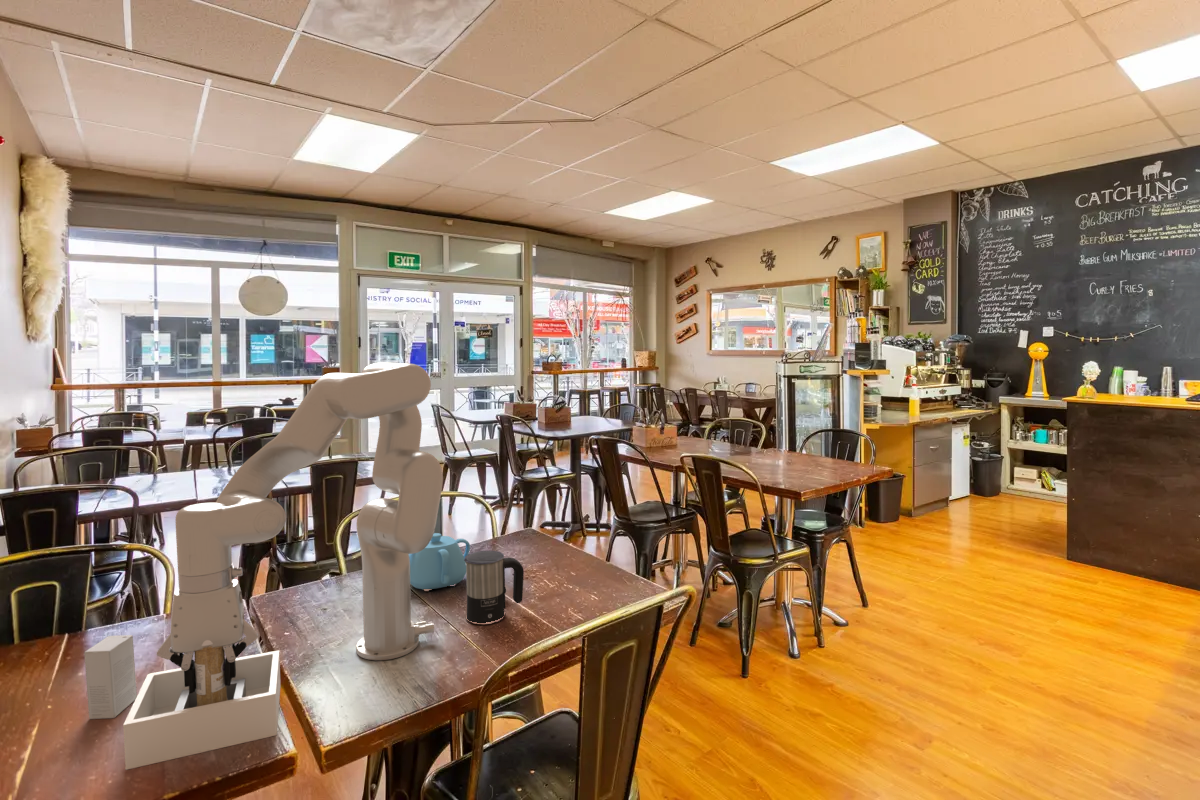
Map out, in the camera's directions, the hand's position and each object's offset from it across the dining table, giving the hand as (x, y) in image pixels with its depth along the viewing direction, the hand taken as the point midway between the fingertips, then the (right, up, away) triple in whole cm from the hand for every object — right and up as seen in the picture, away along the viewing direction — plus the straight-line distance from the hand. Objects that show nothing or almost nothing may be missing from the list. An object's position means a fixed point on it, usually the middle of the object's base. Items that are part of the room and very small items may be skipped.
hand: (211, 684), depth 103 cm
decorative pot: (+21, -2, +63) cm, 67 cm away
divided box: (0, -7, 0) cm, 7 cm away
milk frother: (+38, -4, +47) cm, 60 cm away
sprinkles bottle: (0, -4, 0) cm, 4 cm away
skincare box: (-20, -6, +4) cm, 21 cm away
